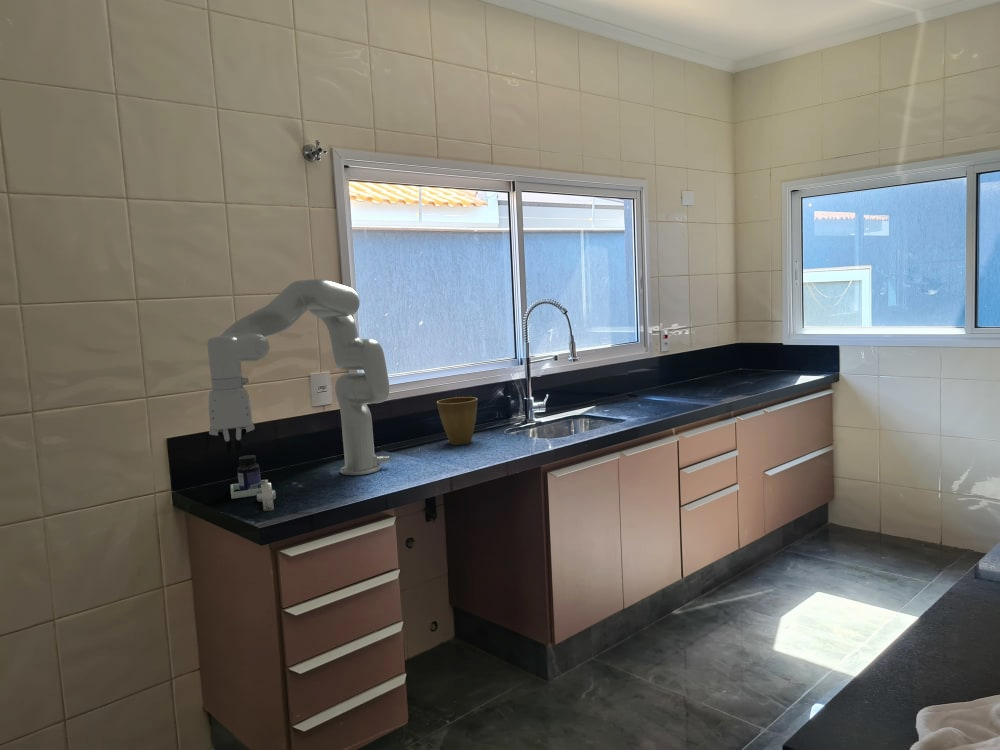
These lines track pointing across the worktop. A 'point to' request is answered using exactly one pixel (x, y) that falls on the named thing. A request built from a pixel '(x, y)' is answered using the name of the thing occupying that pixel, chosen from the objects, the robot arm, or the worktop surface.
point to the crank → (266, 496)
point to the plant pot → (458, 418)
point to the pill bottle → (248, 473)
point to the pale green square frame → (244, 493)
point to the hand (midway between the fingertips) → (234, 454)
